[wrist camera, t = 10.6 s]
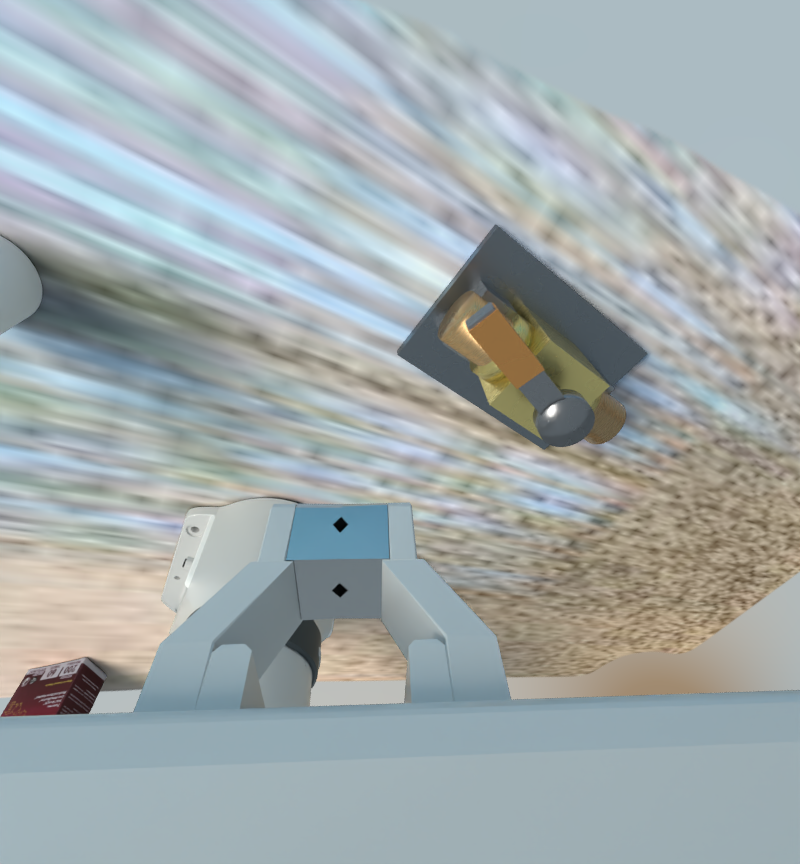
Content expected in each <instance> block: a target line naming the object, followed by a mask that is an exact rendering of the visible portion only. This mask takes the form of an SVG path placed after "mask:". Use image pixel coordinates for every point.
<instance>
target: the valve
mask: <svg viewBox="0 0 800 864" xmlns="http://www.w3.org/2000/svg"><path fill="white" fill-rule="evenodd" d="M489 302H491V303H493V302H494V304H495V305H496V306H497V307H498V309H499V310H500V311H501V313H502V314H503V315H504V316H505V318H506V319H507V320H508V322H509V323H510V324H511V325H512V327H513V328H514V329H515V331H516V332H517V333H518V334H519V336H520V337H521V338H522V339H523V341H524V342H525V343H526V345H527V346H528V347H529V348H530V350H531V351H532V352H533V354H534V355H535V356H536V357H537V359H538V360H539V361H540V363H541V364H542V366H543V368H544V369H545V370H544V371H545V372H546V373H547V374H548V376H549V377H550V378H551V379H552V381H553V382H554V383H555V385H556V386H557V387H558V388H559V390H561V389H571V390H574V391H577V392H579V393H580V394H581V395H582V396H583V397H584V398H585V400H586V401H587V402H588V404H589V405H590V407H591V408H592V409H593V411H594V414H595V422H594V426H593V428H592V430H591V431H590V433H589V434H588V435H587V436H586V437H585V438H584V439H585V440H586V441H588V442H589V443H591V444H602V443H605V442H607V441H609V440H610V439H612V438H613V437H614V436H615V435H617V433H618V432H619V431H620V430H621V428H622V427H623V425H624V422H625V419H626V410H625V407H624V406H623V405H622V404H621V403H620V402H618V401H617V400H616V399H615V398H613V397H612V396H611V395H609V394H610V393H611V392H612V391H613V390H614V389H615V388H614V387H613V385H614V384H615V383H616V382H617V381H618V380H620V379H621V378H622V377H623V376H624V375H625V374H626V373H627V372H628V371H629V370H630V369H631V368H632V367H633V366H635V365H636V364H637V363H638V362H639V361H640V360H641V359H642V358H643V357H644V356H645V355H646V354H647V352H645V351H644V350H643V349H642V348H641V347H640V346H639V345H637V344H636V343H635V342H634V341H633V340H631V339H630V338H629V337H628V336H627V335H626V334H624V333H623V332H622V331H621V330H620V329H618V328H617V327H616V326H615V325H614V324H613V323H611V322H610V321H609V320H608V319H607V318H605V317H604V316H603V315H602V314H601V313H600V312H598V311H597V310H596V309H595V308H594V307H592V306H591V305H590V304H589V303H588V302H587V301H585V300H584V299H583V298H582V297H581V296H579V295H578V294H577V293H576V292H575V291H574V290H572V289H571V288H570V287H569V286H568V285H566V284H565V283H564V282H563V281H562V280H560V279H559V278H558V277H557V276H556V275H555V274H553V273H552V272H551V271H550V270H549V269H547V268H546V267H545V266H544V265H543V264H542V263H540V262H539V261H538V260H537V259H536V258H534V257H533V256H532V255H531V254H530V253H529V252H527V251H526V250H525V249H524V248H523V247H521V246H520V245H519V244H518V243H517V242H516V241H514V240H513V239H512V238H511V237H510V236H508V235H507V234H506V233H505V232H504V231H503V230H501V229H500V228H499V227H498V226H497V225H495V226H494V227H493V228H492V229H491V231H490V232H489V233H488V235H487V236H486V237H485V238H484V240H483V241H482V242H481V244H480V245H479V246H478V247H477V249H476V250H475V251H474V253H473V254H472V255H471V256H470V258H469V259H468V260H467V262H466V263H465V264H464V265H463V267H462V268H461V269H460V271H459V272H458V273H457V274H456V276H455V277H454V278H453V280H452V281H451V282H450V283H449V285H448V286H447V287H446V289H445V290H444V291H443V292H442V294H441V295H440V296H439V298H438V299H437V300H436V301H435V303H434V304H433V305H432V307H431V308H430V309H429V311H428V312H427V313H426V314H425V316H424V317H423V318H422V320H421V321H420V322H419V323H418V325H417V326H416V327H415V329H414V330H413V331H412V332H411V334H410V335H409V336H408V338H407V339H406V340H405V341H404V343H403V344H402V345H401V347H400V348H399V349H398V350H397V353H398V355H399V356H400V357H402V358H403V359H405V360H406V361H408V362H409V363H411V364H413V365H414V366H416V367H417V368H419V369H420V370H422V371H423V372H425V373H426V374H428V375H430V376H431V377H433V378H434V379H436V380H437V381H439V382H440V383H442V384H443V385H445V386H446V387H448V388H450V389H451V390H453V391H454V392H456V393H457V394H459V395H460V396H462V397H463V398H465V399H467V400H468V401H470V402H471V403H473V404H474V405H476V406H477V407H479V408H480V409H482V410H484V411H485V412H487V413H488V414H490V415H491V416H493V417H494V418H496V419H497V420H499V421H501V422H502V423H504V424H505V425H507V426H508V427H510V428H511V429H513V430H514V431H516V432H517V433H519V434H521V435H522V436H524V437H525V438H527V439H528V440H530V441H531V442H533V443H534V444H536V445H538V446H539V447H541V448H542V449H544V450H545V449H546V448H547V447H548V446H549V444H547V443H546V442H545V441H544V440H543V439H542V438H541V436H540V434H539V432H538V430H537V428H536V426H535V424H534V422H533V412H534V409H535V407H534V406H533V405H532V404H531V403H530V402H529V400H528V399H527V398H526V397H525V396H524V394H523V393H522V392H521V391H520V390H519V388H518V389H516V388H515V387H514V385H513V384H512V383H511V382H510V381H509V379H508V378H507V377H506V376H505V375H504V374H503V372H502V371H501V370H500V369H499V368H498V366H497V365H496V364H495V363H494V362H493V361H492V359H491V358H490V357H489V356H488V355H487V353H486V352H485V351H484V350H483V349H482V347H481V346H480V345H479V344H478V343H477V342H476V340H475V339H474V338H473V337H472V336H471V334H470V333H469V332H468V329H467V327H466V325H465V324H466V323H465V321H466V320H467V319H469V318H470V317H471V316H472V315H474V314H475V313H476V312H477V311H479V310H480V309H481V308H482V307H484V306H485V305H486V304H487V303H489Z"/></svg>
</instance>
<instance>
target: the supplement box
mask: <svg viewBox="0 0 800 864" xmlns="http://www.w3.org/2000/svg"><path fill="white" fill-rule="evenodd" d="M106 677H107V675H106V674H105V673H104V672H103V671H102V670H100V669H99V668H98V667H97V666H96V665H95V664H94V663H92V662H91V661H90V660H89V659H88V658H86V657H85V658H81V659H78V660H73V661H69V662H64V663H60V664H55V665H50V666H46V667H40V668H35V669H30V670H28V672H27V674H26V675H25V677H24V679H23V680H22V682H21V684H20V685H19V687H18V688H17V690H16V692H15V693H14V695H13V697H12V698H11V700H10V702H9V703H8V705H7V707H6V708H5V710H4V711H3V713H2V715H1V716H0V717H9V716H39V715H69V714H89V712H90V711H91V708H92V706H93V704H94V702H95V700H96V698H97V696H98V694H99V692H100V689H101V687H102V685H103V683H104V681H105V679H106Z"/></svg>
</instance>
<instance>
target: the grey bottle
mask: <svg viewBox="0 0 800 864" xmlns="http://www.w3.org/2000/svg"><path fill="white" fill-rule="evenodd" d="M42 292H43V291H42V284H41V280H40V277H39V274H38V272H37V270H36V268H35V267H34V265H33V264H32V262H31V261H30V260H29V258H28V257H27V256H26V255H25V254H24V253H23V252H22V251H21V250H20V249H19V248H18V247H17V246H15V245H14V244H13V243H11V242H10V241H9V240H7V239H5V238H4V237H2V236H0V335H1V334H2V333H4V332H6V331H7V330H9V329H10V328H12V327H14V326H15V325H17V324H18V323H20V322H21V321H23V320H25V319H26V318H28V317H29V316H31V315H32V314H33V313H34V312H35V311H36V310H37V309H38V307H39V305H40V303H41V300H42Z"/></svg>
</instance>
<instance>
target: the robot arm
mask: <svg viewBox="0 0 800 864" xmlns="http://www.w3.org/2000/svg"><path fill="white" fill-rule="evenodd" d="M161 600H162V602H163V603H164V604H165V605H166V606H167V607H169V608H170V609H171V610H173V611H174V612H176V615H175V618H174V621H173V623H172V626H171V629H170V632H169V634H170V635H169V636H168V637H167V638H166V639H165V640H164V641H163V642H162V643H161V644H160V646H159V648H158V651H157V653H156V656H155V658H154V661H153V663H152V666H151V669H150V671H149V674H148V676H147V679H146V681H145V684H144V686H143V689H142V691H141V694H140V697H139V699H138V702H137V704H136V707H135V709H134V712H131V713H99V714H69V715H39V716H9V717H0V864H800V690H787V691H786V690H785V691H756V692H730V693H729V692H728V693H727V692H725V693H699V694H698V693H697V694H696V693H695V694H665V695H636V696H607V697H575V698H550V699H549V698H545V699H517V700H516V699H515V700H511V697H510V692H509V688H508V684H507V680H506V675H505V671H504V667H503V663H502V658H501V654H500V650H499V645H498V641H497V637H496V635H495V634H494V633H493V632H492V631H491V630H490V629H489V628H488V627H487V626H486V625H485V624H484V623H483V621H482V620H481V619H480V618H479V617H478V616H477V615H476V614H475V613H474V612H473V611H472V610H471V609H470V608H469V607H468V605H467V604H466V603H465V602H464V601H463V600H462V599H461V598H460V597H459V596H458V595H457V594H456V593H455V592H454V591H453V590H452V588H451V587H450V586H449V585H448V584H447V583H446V582H445V581H444V580H443V579H442V578H441V577H440V576H439V575H438V574H437V572H436V571H435V570H434V569H433V568H432V567H431V566H430V565H429V564H428V563H427V562H426V561H425V560H424V559H417V553H416V543H415V534H414V524H413V514H412V505H411V504H410V503H388V505H387V503H379V504H298V503H295V502H291V501H287V500H282V499H274V498H256V499H248V500H243V501H239V502H236V503H233V504H230V505H227V506H222V507H196V508H192V509H190V510H189V511H188V512H187V515H186V518H185V521H184V524H183V528H182V531H181V534H180V537H179V541H178V544H177V547H176V550H175V553H174V557H173V560H172V563H171V566H170V570H169V573H168V576H167V579H166V583H165V586H164V590H163V593H162V597H161ZM337 618H381V621H382V622H383V624H384V625H385V627H386V628H387V630H388V631H389V633H390V635H391V636H392V638H393V639H394V641H395V642H396V644H397V646H398V647H399V649H400V650H401V652H402V653H403V655H404V656H405V658H406V660H407V674H406V687H405V701H404V703H402V704H401V703H399V704H370V705H340V706H310V695H311V688H312V687H313V686H314V684H315V682H316V679H317V674H318V669H319V667H320V661H321V642H323V641H324V640H325V639H326V638H327V637H329V636H330V635H331V633H332V630H333V624H334V619H337Z"/></svg>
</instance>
